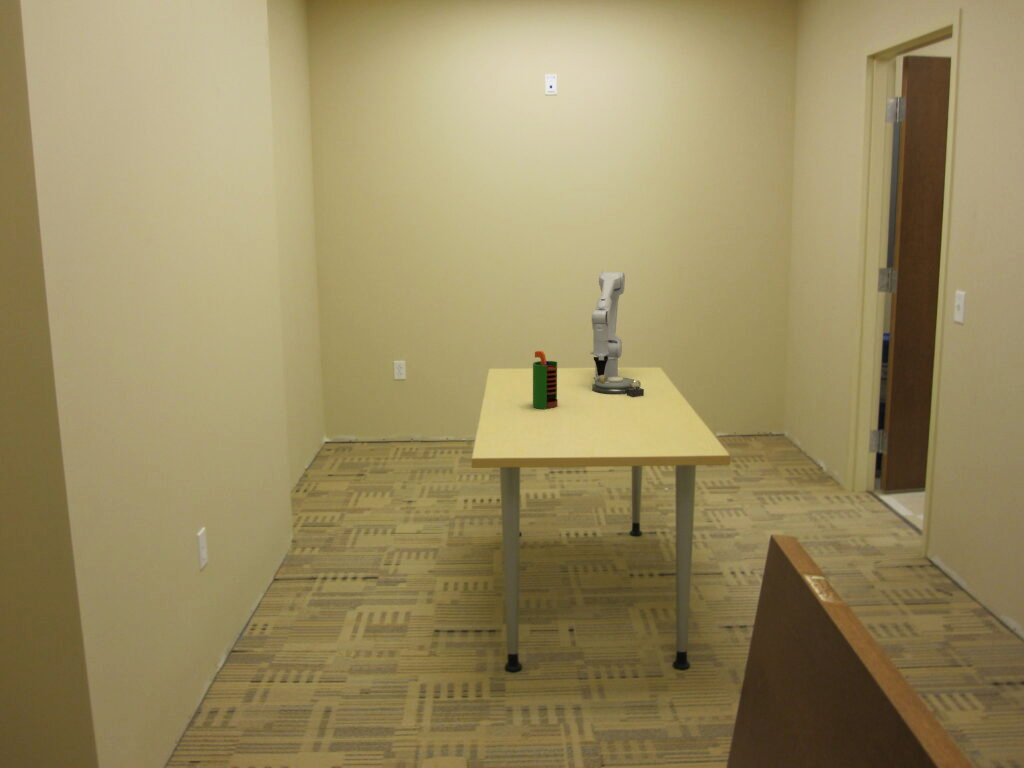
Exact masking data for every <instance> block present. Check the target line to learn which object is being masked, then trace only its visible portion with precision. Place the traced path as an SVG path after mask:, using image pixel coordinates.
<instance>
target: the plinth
mask: <svg viewBox="0 0 1024 768" xmlns="http://www.w3.org/2000/svg"><path fill="white" fill-rule="evenodd" d="M628 389H629V388H628ZM591 390H592V391H593V392H595V393H598V394H602V395H604V394H605V395H627V389H603V388H598V387H596V386H595V382H594V383H592V385H591Z"/></svg>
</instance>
